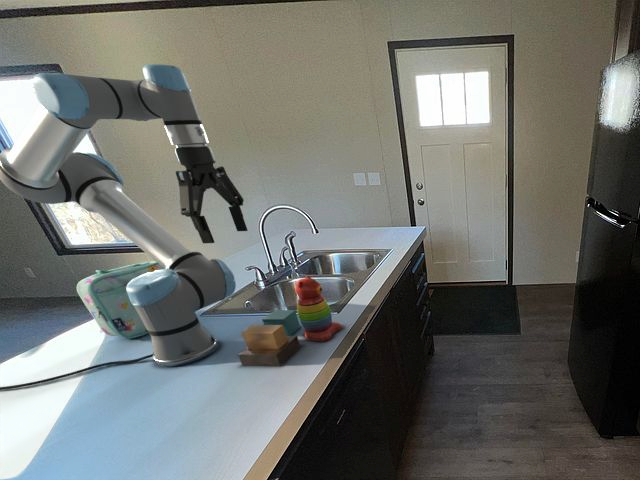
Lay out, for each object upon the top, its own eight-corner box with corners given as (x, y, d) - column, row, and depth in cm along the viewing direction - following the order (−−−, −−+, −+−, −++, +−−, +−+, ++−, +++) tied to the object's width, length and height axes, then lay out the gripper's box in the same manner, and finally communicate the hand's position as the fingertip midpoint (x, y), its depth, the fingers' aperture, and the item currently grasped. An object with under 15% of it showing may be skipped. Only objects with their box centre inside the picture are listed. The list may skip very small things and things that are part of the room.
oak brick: (248, 349, 104) (241, 333, 101) (258, 340, 108) (252, 324, 105) (278, 349, 103) (272, 333, 100) (288, 340, 107) (282, 324, 104)
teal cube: (268, 336, 118) (261, 319, 115) (280, 327, 124) (274, 310, 121) (289, 336, 117) (283, 319, 114) (300, 326, 123) (295, 309, 120)
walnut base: (242, 365, 103) (237, 354, 101) (265, 346, 112) (261, 335, 111) (280, 366, 102) (276, 354, 100) (300, 346, 111) (297, 335, 109)
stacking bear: (326, 342, 113) (310, 285, 104) (296, 340, 115) (278, 284, 106) (344, 326, 122) (331, 272, 113) (316, 325, 124) (301, 272, 115)
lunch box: (120, 346, 117) (79, 280, 106) (101, 342, 120) (59, 277, 109) (202, 312, 138) (175, 254, 127) (184, 309, 141) (156, 252, 130)
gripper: (164, 147, 80) (206, 248, 91) (239, 144, 101) (266, 226, 112) (132, 149, 80) (178, 249, 91) (213, 145, 102) (242, 227, 113)
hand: (226, 236), depth 102 cm, fingers open, 13 cm apart
